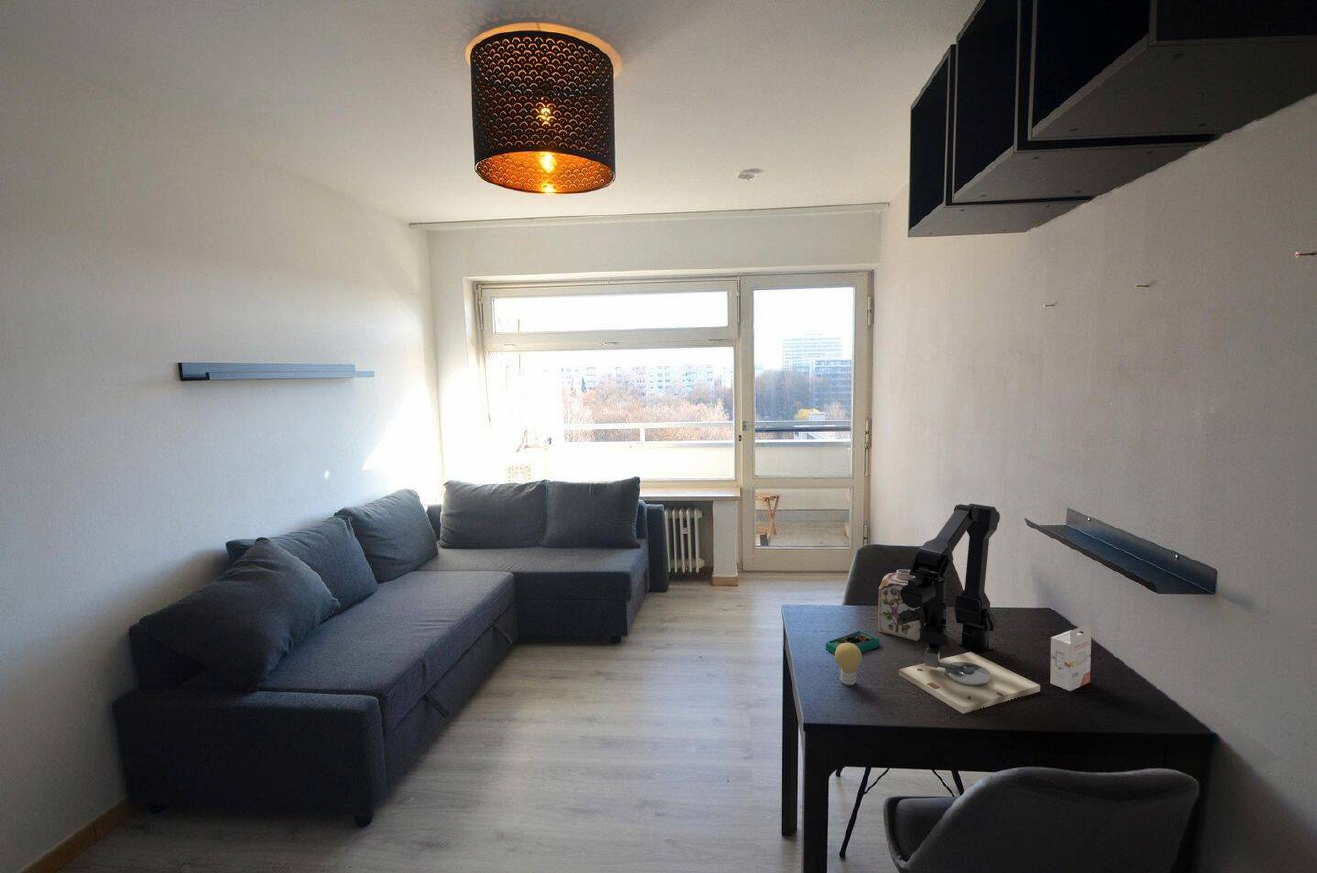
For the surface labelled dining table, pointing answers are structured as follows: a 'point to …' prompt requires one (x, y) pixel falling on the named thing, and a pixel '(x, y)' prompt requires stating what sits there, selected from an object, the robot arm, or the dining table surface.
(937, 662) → the dial
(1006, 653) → the dining table surface
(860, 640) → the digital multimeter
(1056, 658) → the ink cartridge box
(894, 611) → the decorative jar
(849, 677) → the light bulb
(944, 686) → the dial board
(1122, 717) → the dining table surface
